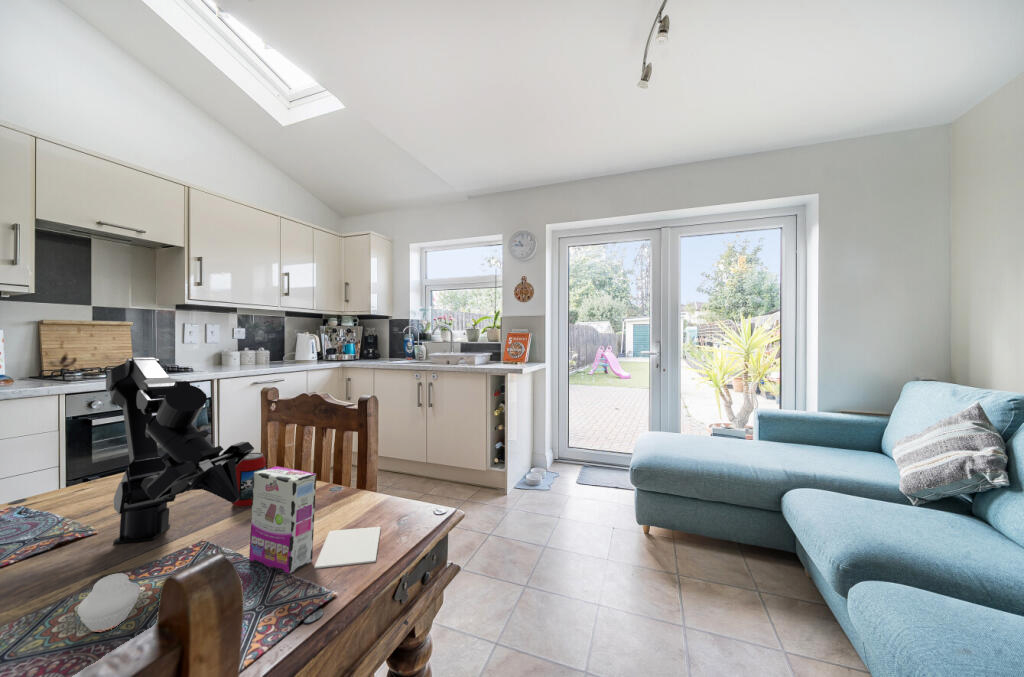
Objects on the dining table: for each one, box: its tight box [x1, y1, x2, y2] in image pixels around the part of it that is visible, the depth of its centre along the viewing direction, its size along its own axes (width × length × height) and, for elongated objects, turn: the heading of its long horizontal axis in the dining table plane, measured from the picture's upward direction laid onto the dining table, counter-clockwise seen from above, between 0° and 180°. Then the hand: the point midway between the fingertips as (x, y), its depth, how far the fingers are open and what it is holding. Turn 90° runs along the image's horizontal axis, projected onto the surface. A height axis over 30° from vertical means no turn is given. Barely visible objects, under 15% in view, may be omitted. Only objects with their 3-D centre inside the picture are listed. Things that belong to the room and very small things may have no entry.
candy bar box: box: [248, 465, 317, 575], centre depth 71 cm, size 11×5×16 cm, turn 68°
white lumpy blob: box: [76, 572, 141, 631], centre depth 54 cm, size 6×6×7 cm
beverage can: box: [231, 452, 267, 508], centre depth 96 cm, size 7×7×12 cm
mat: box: [314, 526, 382, 569], centre depth 77 cm, size 10×14×1 cm
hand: (236, 500), depth 71 cm, fingers closed
